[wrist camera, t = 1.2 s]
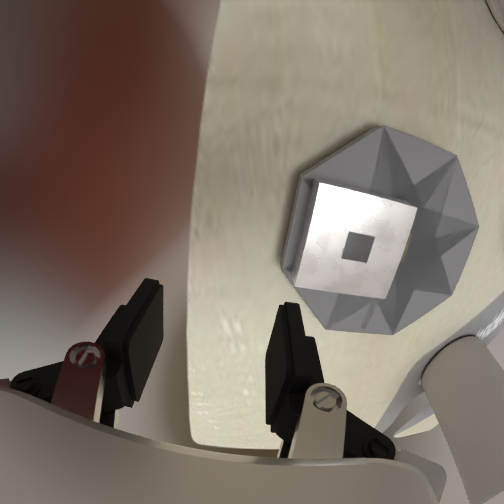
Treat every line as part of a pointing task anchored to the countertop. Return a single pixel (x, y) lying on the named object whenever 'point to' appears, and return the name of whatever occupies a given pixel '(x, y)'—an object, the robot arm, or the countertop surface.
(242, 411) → the countertop surface
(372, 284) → the cover
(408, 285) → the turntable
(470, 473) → the cylinder vase
